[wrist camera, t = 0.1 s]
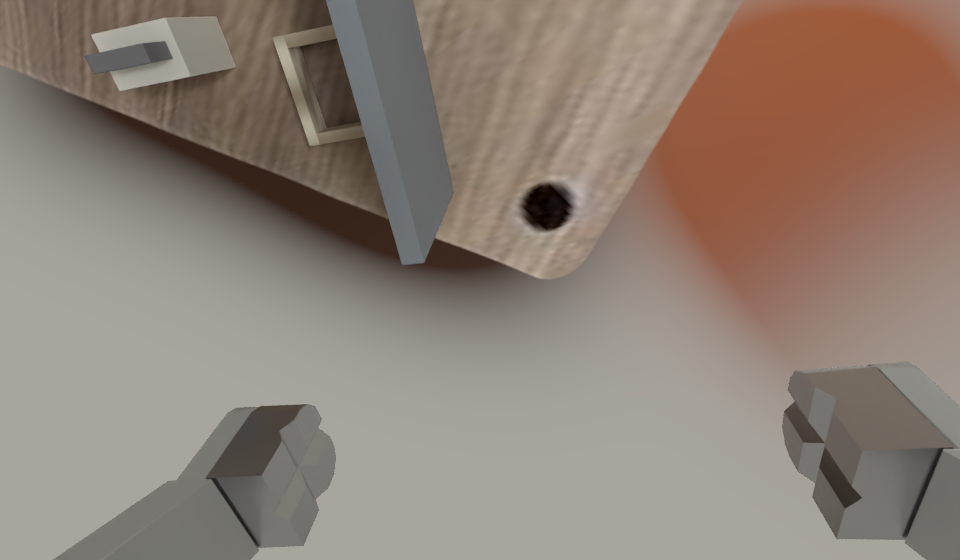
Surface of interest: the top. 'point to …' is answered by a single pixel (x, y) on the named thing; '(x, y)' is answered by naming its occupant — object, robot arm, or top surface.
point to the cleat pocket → (310, 87)
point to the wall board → (396, 116)
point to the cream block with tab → (161, 51)
